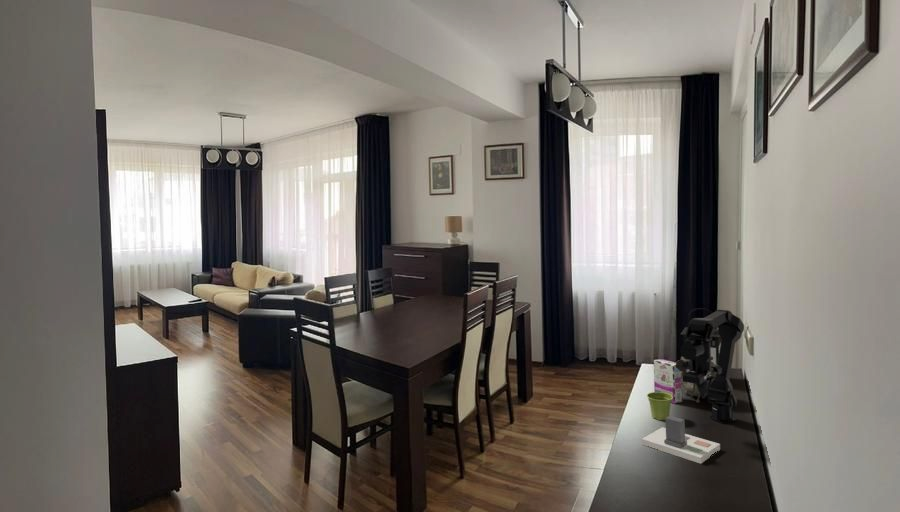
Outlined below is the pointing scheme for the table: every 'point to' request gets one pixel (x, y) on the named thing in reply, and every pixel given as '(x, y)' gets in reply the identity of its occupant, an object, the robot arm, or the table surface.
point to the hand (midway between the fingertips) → (702, 396)
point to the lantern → (714, 342)
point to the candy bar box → (668, 379)
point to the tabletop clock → (691, 386)
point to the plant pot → (660, 404)
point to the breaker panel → (692, 450)
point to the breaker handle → (675, 432)
